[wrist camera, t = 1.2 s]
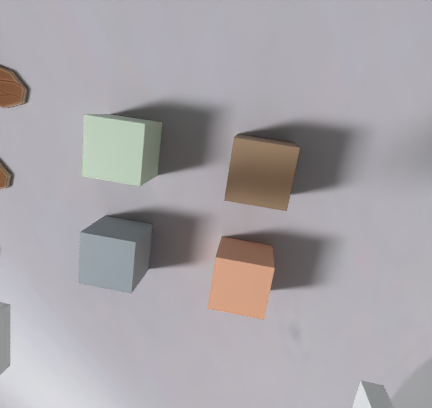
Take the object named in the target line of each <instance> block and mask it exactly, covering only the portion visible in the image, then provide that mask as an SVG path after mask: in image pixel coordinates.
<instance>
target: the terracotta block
mask: <svg viewBox="0 0 432 408" xmlns="http://www.w3.org/2000/svg"><path fill="white" fill-rule="evenodd" d="M274 270H275V265H274V255H273V246H272V245H266V244H261V243H255V242H250V241H244V240H238V239H233V238H227V237H222V238H221V241H220V244H219V248H218V251H217V254H216V258H215V265H214V271H213V277H212V284H211V290H210V297H209V303H208V309H213V310H218V311H223V312H228V313H233V314H238V315H243V316H248V317H253V318H258V319H263V320H264V317H265V313H266V308H267V303H268V298H269V293H270V289H271V284H272V279H273V274H274Z"/></svg>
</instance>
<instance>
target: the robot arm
mask: <svg viewBox="0 0 432 408" xmlns="http://www.w3.org/2000/svg"><path fill="white" fill-rule="evenodd" d="M9 366H10V304H6V303H1V302H0V375H1V374H2V373H3V372H4V371H5V370H6V369H7V368H8V367H9ZM352 408H394V407H393V405H392V403H391V401H390V399H389V396H388V394H387V392H386V390H385V388H384V386H383V385H379V384H374V383H370V382H365V381H360V385H359V388H358V391H357V394H356V398H355V401H354V404H353V407H352Z"/></svg>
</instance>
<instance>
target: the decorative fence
mask: <svg viewBox="0 0 432 408" xmlns="http://www.w3.org/2000/svg"><path fill="white" fill-rule="evenodd" d="M27 91H28V90H27V88H26V87H25V86H24V84H23V83H22V82H21V81H20V79H19V78H18V77H17V76H16V74H15V73H14V72H13V71H11V70H8V69H5V68H3V67H0V107H3V108H10V107H14V106H18V105H22V104H25V102H26V96H27ZM10 181H11V173H10V172H9V171H8V170H7V169H6V168H5V166H4V165H3V164H2V163H1V162H0V189H3V188H7V187H9V186H10Z"/></svg>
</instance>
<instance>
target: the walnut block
mask: <svg viewBox="0 0 432 408" xmlns="http://www.w3.org/2000/svg"><path fill="white" fill-rule="evenodd" d="M299 151H300V147H298V146H297V145H296V144H295V143H294V142H288V141H281V140H275V139H268V138H262V137H255V136H249V135H242V134H237V135H236V136H235V137H234V141H233V148H232V154H231V161H230V167H229V174H228V180H227V187H226V193H225V201H231V202H237V203H242V204H248V205H254V206H260V207H266V208H272V209H278V210H284V211H287V208H288V203H289V198H290V193H291V189H292V184H293V179H294V174H295V170H296V165H297V160H298V155H299Z"/></svg>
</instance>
